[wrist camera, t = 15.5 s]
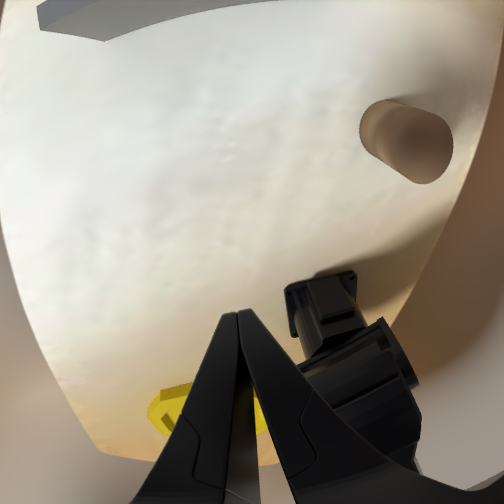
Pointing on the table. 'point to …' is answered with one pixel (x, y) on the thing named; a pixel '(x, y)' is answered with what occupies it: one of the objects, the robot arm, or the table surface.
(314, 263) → the table surface
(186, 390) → the decorative disc
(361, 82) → the table surface
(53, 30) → the tray
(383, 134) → the post
